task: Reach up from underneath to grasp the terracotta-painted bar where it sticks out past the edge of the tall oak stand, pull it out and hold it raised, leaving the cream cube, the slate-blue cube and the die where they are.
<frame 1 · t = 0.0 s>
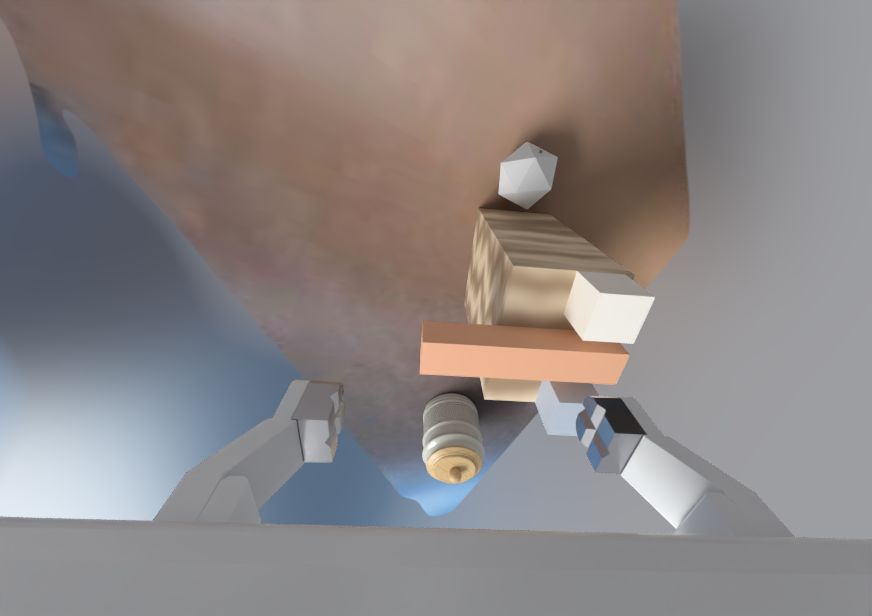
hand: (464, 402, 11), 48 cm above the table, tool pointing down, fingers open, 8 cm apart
cube cream: (593, 294, 34), point 26 cm above the table, touching oak stand
bar terracotta: (514, 341, 37), point 26 cm above the table, touching oak stand
cube slate: (559, 388, 40), point 26 cm above the table, touching oak stand
jar: (450, 411, 78), on the table
die: (520, 173, 53), on the table
oak stand: (504, 261, 60), on the table
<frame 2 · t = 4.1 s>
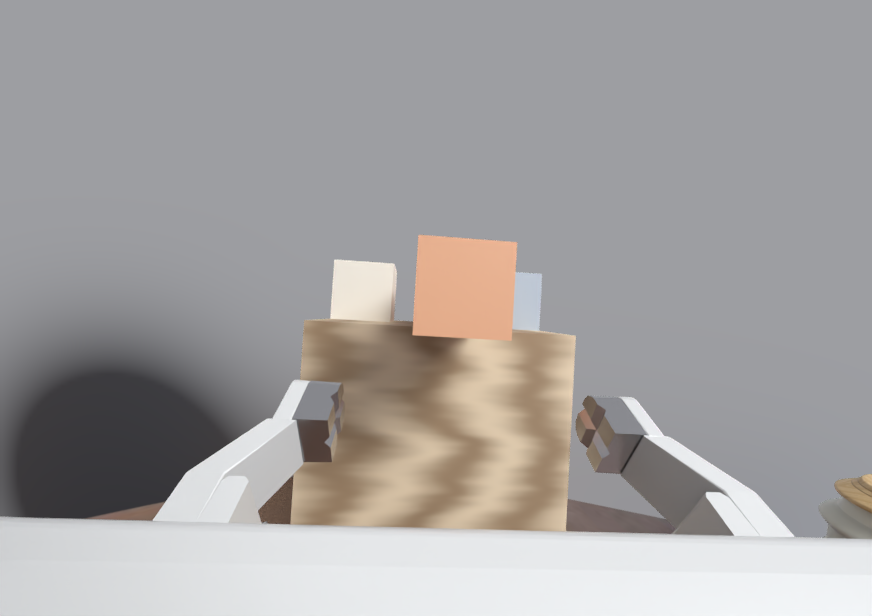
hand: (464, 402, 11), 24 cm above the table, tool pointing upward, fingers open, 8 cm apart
cube cream: (364, 319, 30), point 26 cm above the table, touching oak stand
bar terracotta: (441, 327, 23), point 26 cm above the table, touching oak stand
cube slate: (503, 327, 31), point 26 cm above the table, touching oak stand
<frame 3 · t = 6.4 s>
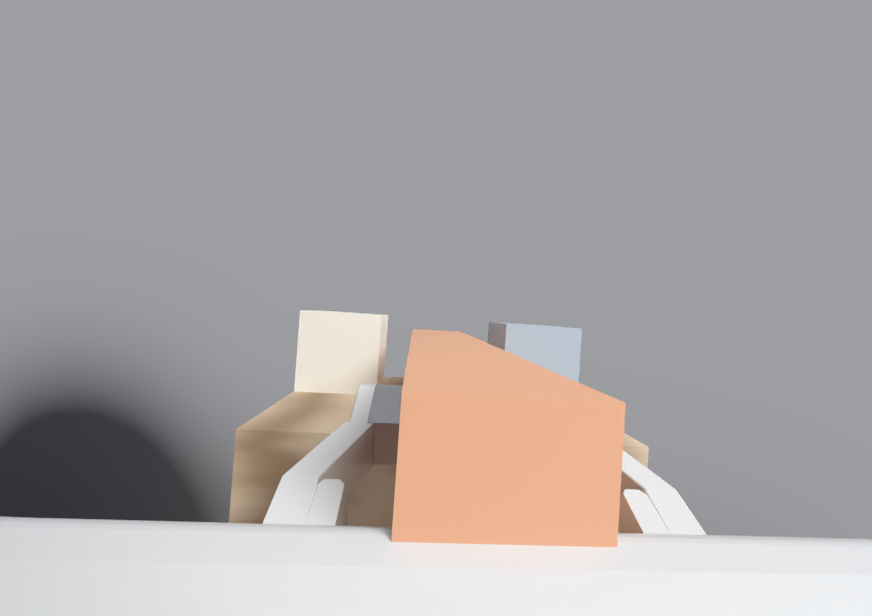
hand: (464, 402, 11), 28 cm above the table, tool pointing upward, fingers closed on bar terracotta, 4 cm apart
cube cream: (344, 384, 23), point 26 cm above the table, touching oak stand
bar terracotta: (445, 422, 16), point 26 cm above the table, touching gripper, oak stand
cube slate: (526, 394, 23), point 26 cm above the table, touching oak stand
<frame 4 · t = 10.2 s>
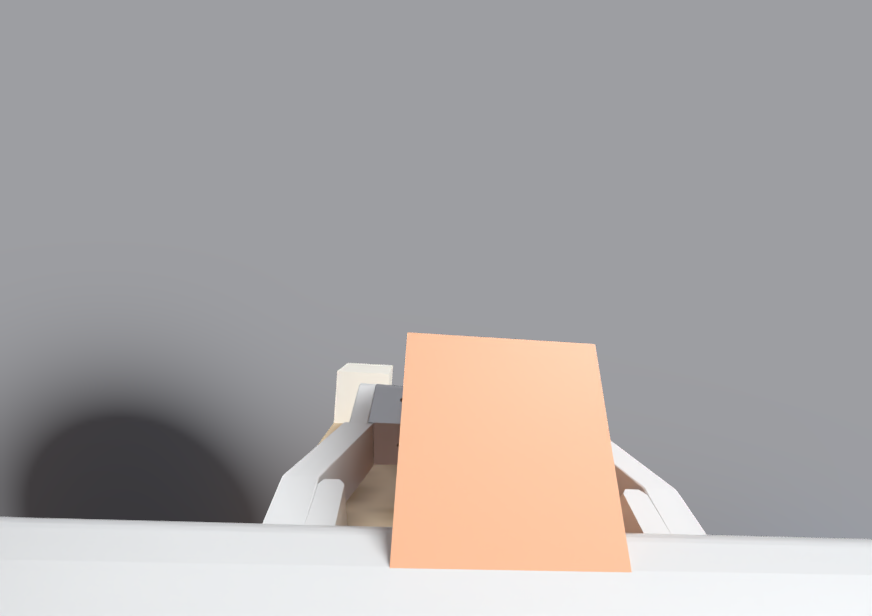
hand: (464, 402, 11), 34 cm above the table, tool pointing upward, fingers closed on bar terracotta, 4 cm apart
cube cream: (364, 415, 34), point 26 cm above the table, touching oak stand
bar terracotta: (444, 491, 15), point 29 cm above the table, tilted 22°, touching gripper
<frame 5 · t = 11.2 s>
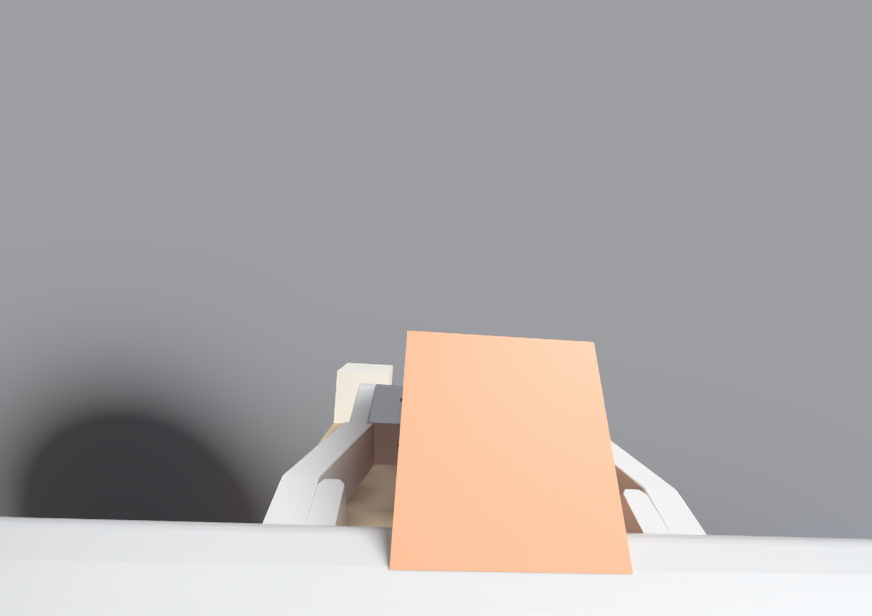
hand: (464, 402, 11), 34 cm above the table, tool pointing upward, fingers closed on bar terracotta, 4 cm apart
cube cream: (364, 415, 34), point 26 cm above the table, touching oak stand
bar terracotta: (444, 494, 15), point 29 cm above the table, tilted 23°, touching gripper
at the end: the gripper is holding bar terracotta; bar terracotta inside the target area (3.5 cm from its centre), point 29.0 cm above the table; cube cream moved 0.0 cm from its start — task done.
